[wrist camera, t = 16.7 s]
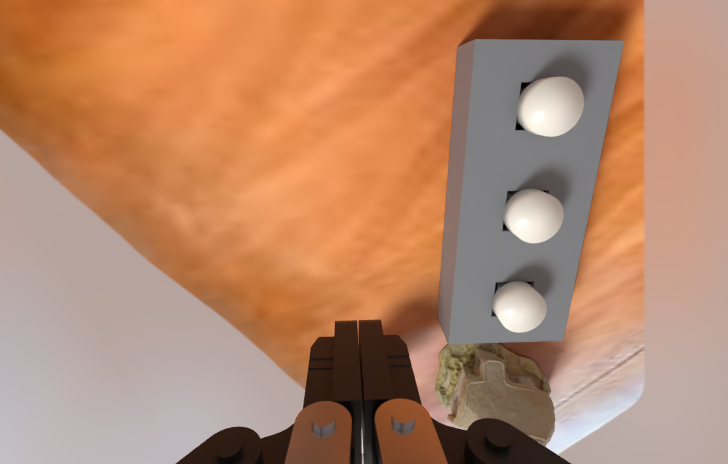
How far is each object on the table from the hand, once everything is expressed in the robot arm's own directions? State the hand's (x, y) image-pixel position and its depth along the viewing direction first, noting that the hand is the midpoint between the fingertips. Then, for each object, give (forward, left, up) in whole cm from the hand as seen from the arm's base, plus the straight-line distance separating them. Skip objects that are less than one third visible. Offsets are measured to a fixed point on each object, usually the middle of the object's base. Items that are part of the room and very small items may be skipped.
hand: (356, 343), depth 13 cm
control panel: (+2, +16, -27) cm, 31 cm away
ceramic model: (+25, +17, -27) cm, 41 cm away
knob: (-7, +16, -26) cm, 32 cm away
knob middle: (+2, +16, -26) cm, 31 cm away
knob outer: (+11, +16, -26) cm, 33 cm away
